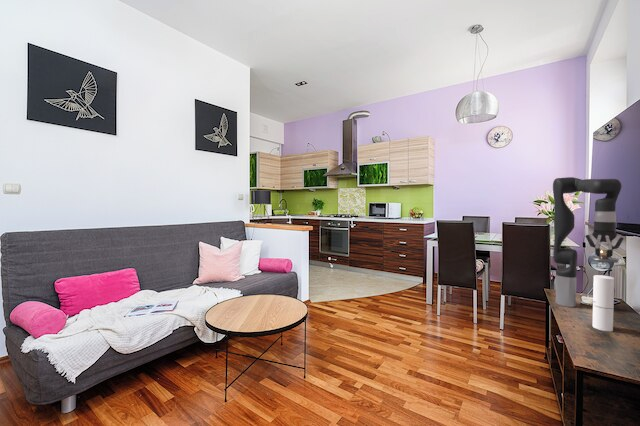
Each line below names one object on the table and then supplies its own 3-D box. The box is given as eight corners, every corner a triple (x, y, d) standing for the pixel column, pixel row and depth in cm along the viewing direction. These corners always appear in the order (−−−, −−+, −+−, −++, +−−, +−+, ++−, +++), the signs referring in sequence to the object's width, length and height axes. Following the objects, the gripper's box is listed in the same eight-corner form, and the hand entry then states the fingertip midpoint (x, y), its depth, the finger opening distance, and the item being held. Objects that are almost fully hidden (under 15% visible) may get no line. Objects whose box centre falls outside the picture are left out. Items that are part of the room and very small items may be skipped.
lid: (584, 258, 146) (585, 247, 146) (609, 259, 144) (609, 248, 143) (597, 262, 137) (597, 251, 137) (624, 263, 134) (624, 251, 134)
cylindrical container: (606, 325, 144) (607, 275, 143) (616, 332, 137) (618, 279, 136) (589, 324, 146) (590, 274, 145) (598, 330, 139) (599, 278, 138)
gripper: (583, 220, 143) (582, 255, 144) (624, 221, 132) (623, 260, 132) (587, 219, 147) (586, 253, 148) (627, 221, 136) (626, 258, 137)
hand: (603, 256), depth 140 cm, fingers closed on lid, 3 cm apart
